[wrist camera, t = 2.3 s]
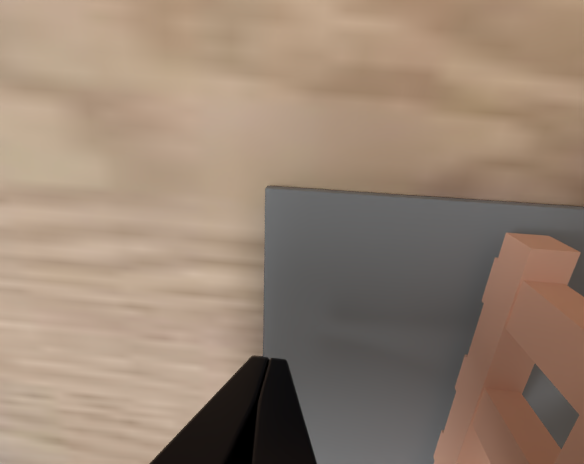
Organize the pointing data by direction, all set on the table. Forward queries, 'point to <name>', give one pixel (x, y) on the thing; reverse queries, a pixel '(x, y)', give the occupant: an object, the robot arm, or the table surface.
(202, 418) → the robot arm
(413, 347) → the mat
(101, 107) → the table surface
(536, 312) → the fence gate
